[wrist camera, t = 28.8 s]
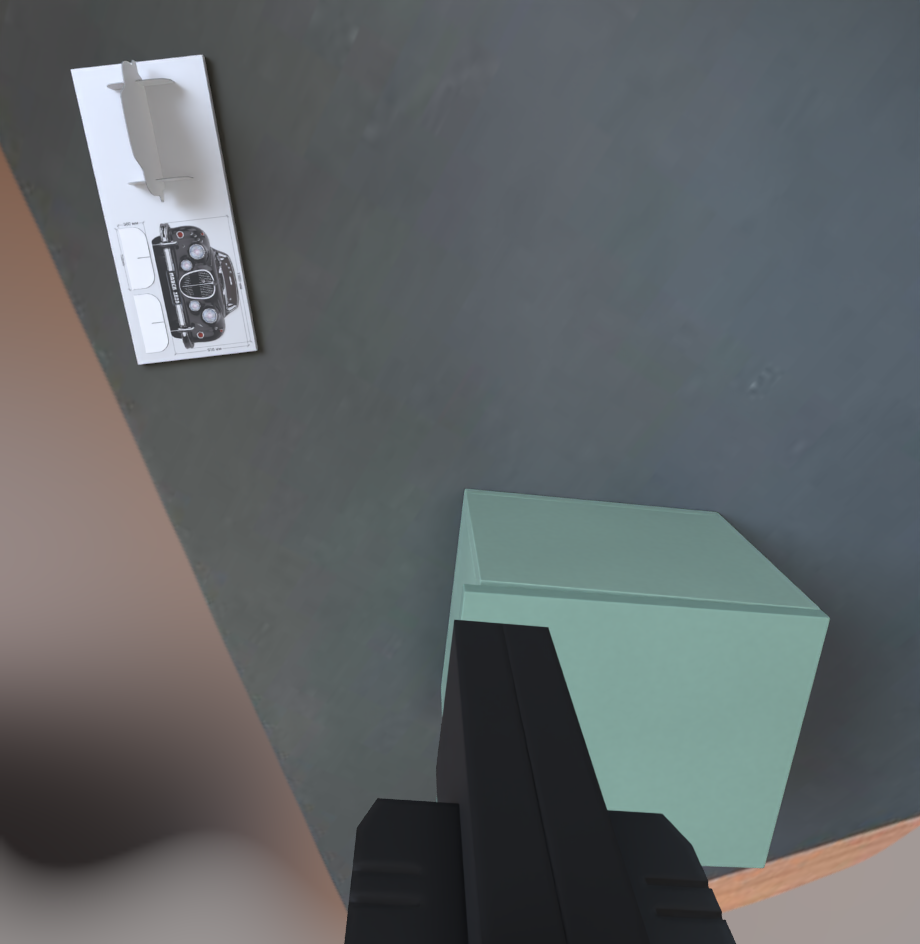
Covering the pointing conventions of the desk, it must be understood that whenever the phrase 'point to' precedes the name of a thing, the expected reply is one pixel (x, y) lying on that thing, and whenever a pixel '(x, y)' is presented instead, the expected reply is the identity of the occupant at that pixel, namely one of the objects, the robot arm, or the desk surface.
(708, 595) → the box
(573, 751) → the robot arm
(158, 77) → the car cutout
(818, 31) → the desk surface
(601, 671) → the lid
